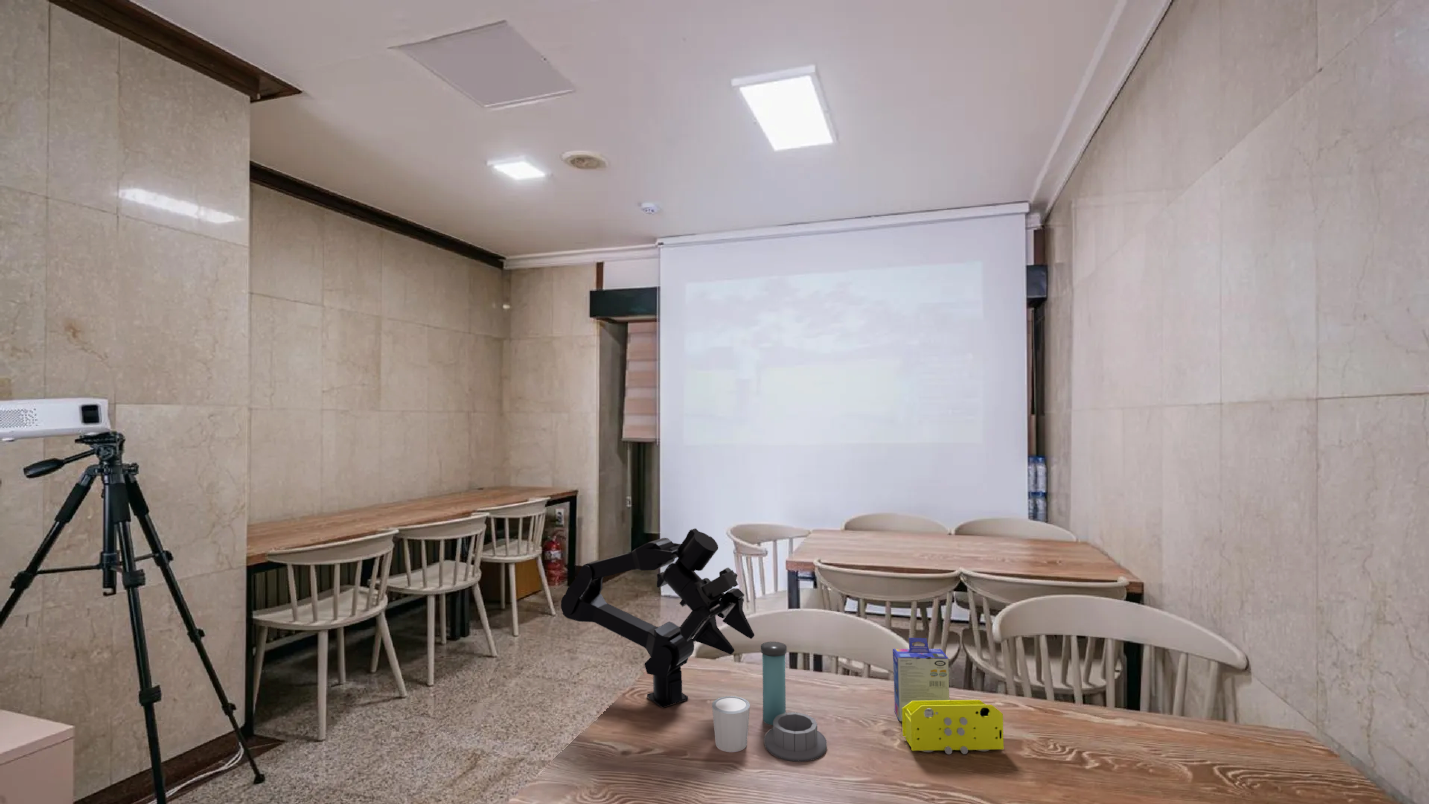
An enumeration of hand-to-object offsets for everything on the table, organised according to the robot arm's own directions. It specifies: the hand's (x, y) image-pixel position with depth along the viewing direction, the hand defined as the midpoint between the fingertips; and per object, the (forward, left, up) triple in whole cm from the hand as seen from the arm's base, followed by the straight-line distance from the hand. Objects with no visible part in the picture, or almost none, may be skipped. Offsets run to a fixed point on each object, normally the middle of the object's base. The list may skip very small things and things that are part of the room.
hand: (743, 644), depth 118 cm
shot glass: (+6, -8, -14) cm, 17 cm away
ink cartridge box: (+20, +28, -14) cm, 38 cm away
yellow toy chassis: (+30, +23, -14) cm, 41 cm away
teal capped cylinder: (+4, +4, -14) cm, 15 cm away
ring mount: (+13, +1, -14) cm, 19 cm away
